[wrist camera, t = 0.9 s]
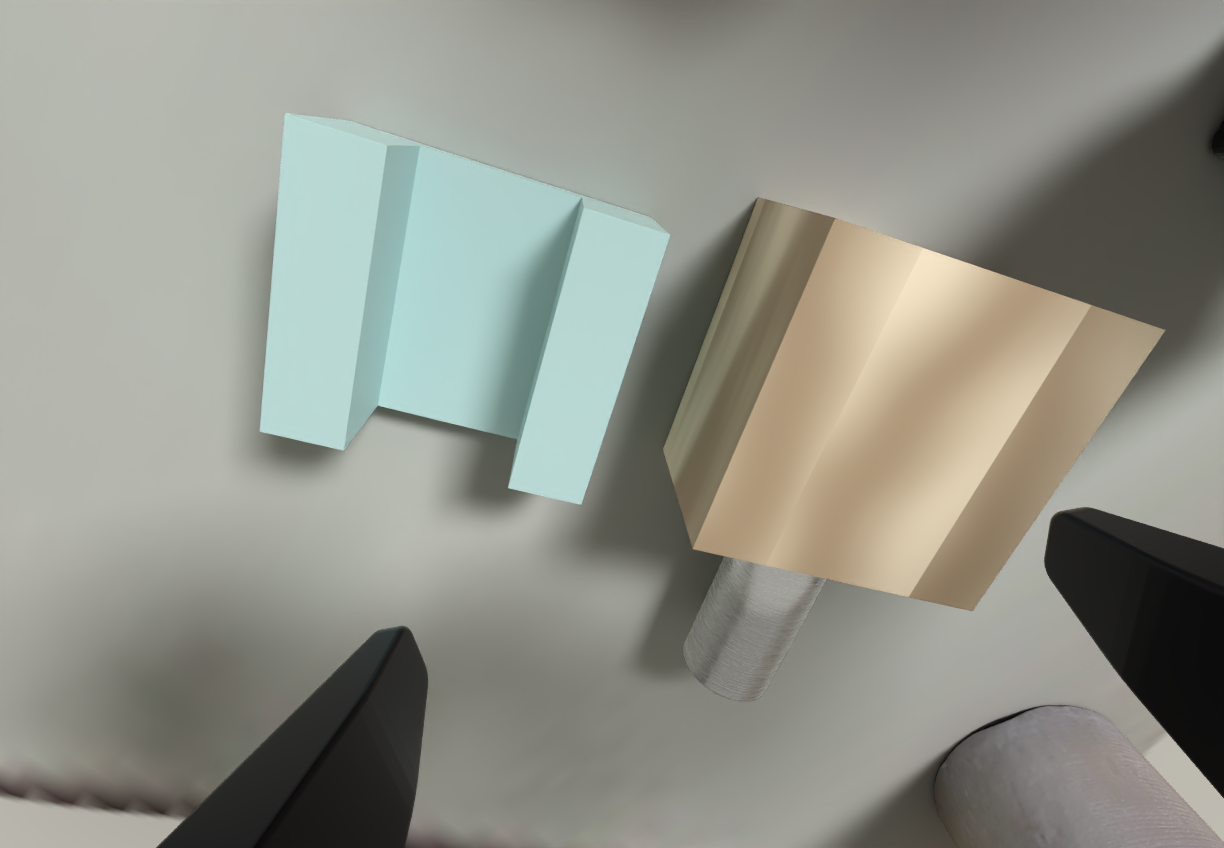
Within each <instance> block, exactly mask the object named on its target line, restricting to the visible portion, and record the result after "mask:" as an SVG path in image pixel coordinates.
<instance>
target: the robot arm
mask: <svg viewBox="0 0 1224 848" xmlns="http://www.w3.org/2000/svg"><path fill="white" fill-rule="evenodd" d="M1212 150H1213V153H1214V154H1215V155H1216V156H1218V157H1220V158H1223V159H1224V122H1223V123H1222V125H1221V126H1220V128H1219V129H1218V131H1217V133H1216V134H1215V136H1214V139H1213V141H1212ZM1044 563H1045V568H1046V572H1047V574H1048V576H1049V578H1050V579H1051V581H1052V582H1053V584H1054V585H1055V587H1056V588H1057V589H1058V591H1059V592H1060V594H1061V595H1062V596H1063V598H1064V599H1065V601H1066V602H1067V603H1068V605H1069V606H1070V608H1071V609H1072V611H1073V612H1074V613H1075V615H1076V616H1077V618H1078V619H1079V620H1080V622H1081V623H1082V625H1083V626H1084V627H1085V629H1086V630H1087V632H1088V633H1089V635H1090V636H1091V637H1092V639H1093V640H1094V642H1095V643H1096V644H1097V646H1098V647H1099V649H1100V650H1101V651H1102V653H1103V654H1104V656H1105V657H1106V658H1107V660H1108V661H1109V663H1110V664H1111V665H1112V667H1113V668H1114V669H1115V671H1116V672H1117V673H1118V675H1119V676H1120V677H1121V678H1122V680H1123V681H1124V682H1125V683H1126V685H1127V686H1128V687H1129V688H1130V689H1131V691H1132V692H1133V693H1134V694H1135V696H1136V697H1137V698H1138V699H1139V700H1140V701H1141V703H1142V704H1143V705H1144V706H1145V707H1146V708H1147V709H1148V711H1149V712H1150V713H1151V714H1152V715H1153V716H1154V718H1155V719H1156V720H1157V721H1158V722H1159V723H1160V725H1161V726H1162V727H1163V728H1164V729H1165V730H1166V732H1167V733H1168V734H1169V735H1170V736H1171V737H1172V739H1173V740H1174V741H1175V742H1176V743H1177V744H1178V746H1179V747H1180V748H1181V749H1182V750H1183V751H1184V753H1185V754H1186V755H1187V756H1188V757H1189V758H1190V760H1191V761H1192V762H1193V763H1194V764H1195V765H1196V767H1197V768H1198V769H1199V770H1200V771H1201V772H1202V774H1203V775H1204V776H1205V777H1206V778H1207V779H1208V780H1209V782H1210V783H1211V784H1212V785H1213V786H1214V788H1215V789H1216V790H1217V791H1218V792H1219V793H1220V794H1221V796H1222V797H1223V798H1224V548H1221V547H1218V546H1214V545H1211V544H1208V543H1205V542H1201V541H1198V540H1195V539H1192V538H1188V537H1185V536H1182V535H1179V534H1175V533H1172V532H1169V531H1166V530H1162V529H1159V528H1156V527H1152V526H1149V525H1146V524H1143V523H1139V522H1136V521H1133V520H1130V519H1126V518H1123V517H1120V516H1117V515H1113V514H1110V513H1107V512H1104V511H1100V510H1097V509H1094V508H1089V507H1082V508H1076V509H1070V510H1065V511H1060V512H1058V513H1056V514H1054V516H1053V517H1052V518H1051V521H1050V527H1049V533H1048V539H1047V545H1046V551H1045V557H1044ZM427 689H428V674H427V669H426V666H425V663H424V661H423V658H422V656H421V653H420V651H419V649H418V646H417V644H416V641H415V639H414V637H413V634H412V632H411V631H410V629H409V628H408V627H405V626H398V627H392V628H387V629H381V630H378V631H377V632H375V633H374V634H373V635H372V636H371V637H370V638H369V639H368V640H367V641H366V642H365V643H364V644H363V645H362V646H361V647H360V648H359V649H358V650H356V651H355V652H354V653H353V654H352V655H351V656H350V657H349V658H348V659H347V660H346V661H345V662H344V663H343V664H342V665H341V666H340V667H339V668H338V669H337V670H336V671H335V672H334V673H333V674H332V675H331V676H330V677H329V678H328V679H327V680H326V681H325V682H324V683H323V684H322V685H321V686H320V687H319V688H318V689H317V690H316V691H315V692H314V693H313V694H312V695H311V696H310V697H309V698H308V699H307V700H306V701H305V702H304V703H303V704H302V705H301V706H300V707H299V708H298V709H297V710H296V711H295V712H294V713H293V714H292V715H290V716H289V717H288V718H287V719H286V720H285V721H284V722H283V723H282V724H281V725H280V726H279V727H278V728H277V729H276V730H275V731H274V732H273V733H272V734H271V735H270V736H269V737H268V738H267V739H266V740H265V741H264V742H263V743H262V744H261V745H260V746H259V747H258V748H257V749H256V750H255V751H254V752H253V753H252V754H251V755H250V756H249V757H248V758H247V759H246V760H245V761H244V762H243V763H242V764H241V765H240V766H239V767H238V768H237V769H236V770H235V771H234V772H233V773H232V774H231V775H230V776H229V777H228V778H227V779H225V780H224V781H223V782H222V783H221V784H220V785H219V786H218V787H217V788H216V789H215V790H214V791H213V792H212V793H211V794H210V795H209V796H208V797H207V798H206V799H205V800H204V801H203V802H202V803H201V804H200V805H199V806H198V807H197V808H196V809H195V810H194V811H193V812H192V813H191V814H190V815H189V816H188V817H187V818H186V819H185V820H184V821H183V822H182V823H181V824H180V825H179V826H178V827H177V828H176V829H175V830H174V831H173V832H172V833H171V834H170V835H169V836H168V837H167V838H166V839H164V840H163V841H162V842H161V844H159V845H158V846H157V847H156V848H405V845H406V840H407V836H408V831H409V826H410V822H411V817H412V812H413V807H414V801H415V796H416V789H417V781H418V773H419V764H420V754H421V745H422V736H423V726H424V717H425V708H426V698H427Z"/></svg>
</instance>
